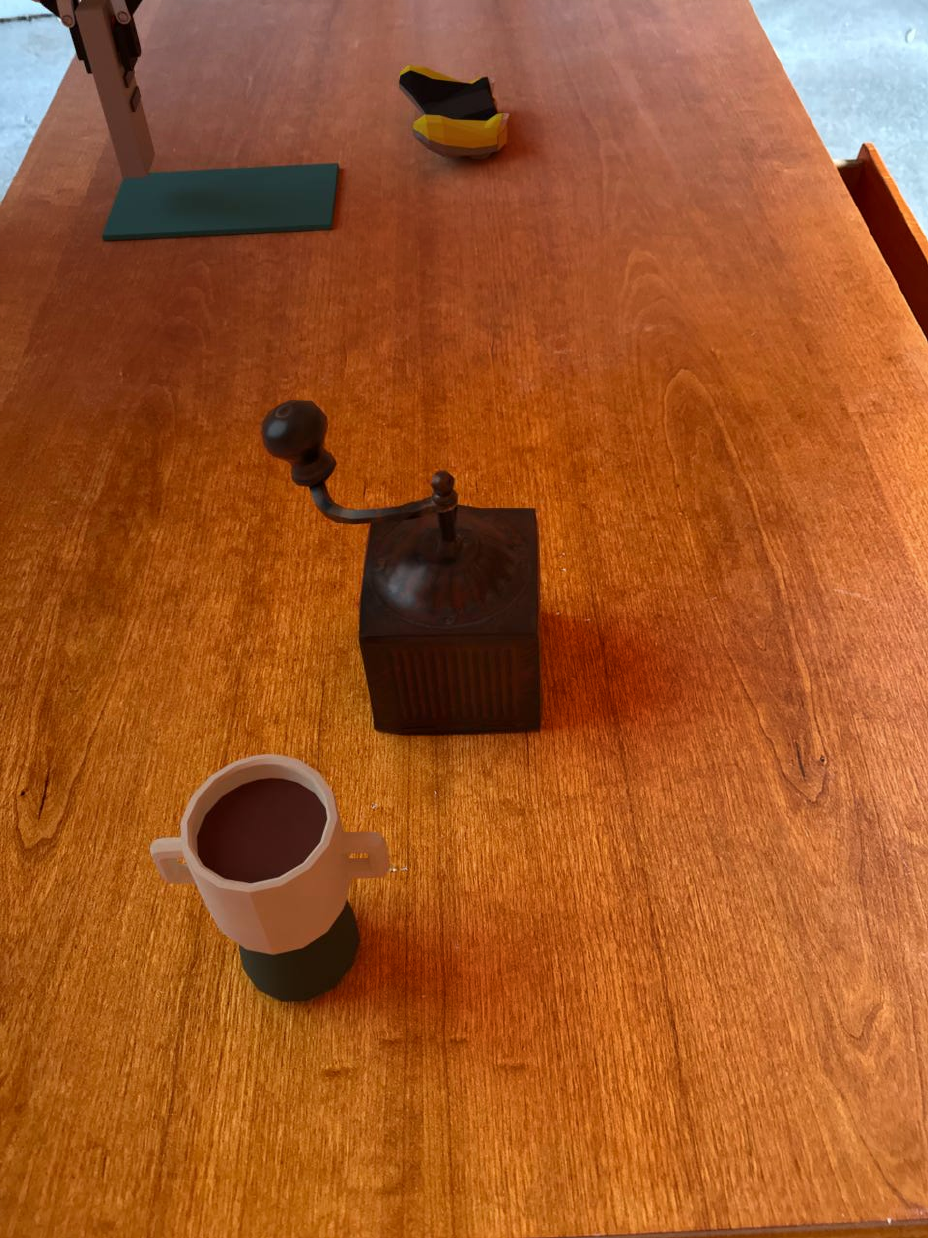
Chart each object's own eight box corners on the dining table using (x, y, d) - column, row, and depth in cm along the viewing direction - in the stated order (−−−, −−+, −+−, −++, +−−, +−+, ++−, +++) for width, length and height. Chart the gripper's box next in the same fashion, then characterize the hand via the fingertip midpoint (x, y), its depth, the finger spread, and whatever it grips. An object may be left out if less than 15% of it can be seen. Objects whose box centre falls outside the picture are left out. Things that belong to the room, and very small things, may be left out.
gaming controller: (418, 179, 114) (516, 166, 115) (414, 125, 110) (515, 112, 111) (399, 112, 124) (490, 101, 125) (395, 60, 120) (488, 49, 121)
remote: (122, 178, 108) (74, 11, 97) (131, 155, 112) (85, -10, 100) (150, 177, 108) (105, 9, 97) (158, 153, 111) (115, -11, 100)
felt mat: (103, 240, 109) (101, 235, 109) (125, 179, 117) (124, 173, 117) (331, 229, 109) (331, 223, 108) (339, 168, 117) (338, 162, 116)
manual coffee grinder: (540, 599, 76) (541, 378, 62) (544, 735, 69) (546, 518, 55) (308, 603, 77) (260, 385, 63) (288, 737, 69) (228, 524, 56)
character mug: (407, 885, 62) (384, 748, 53) (403, 1013, 58) (377, 888, 48) (209, 891, 63) (150, 756, 53) (190, 1018, 58) (121, 896, 48)
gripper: (-70, -154, 87) (14, 89, 101) (141, -168, 86) (196, 79, 100) (-43, -182, 92) (34, 53, 106) (157, -196, 91) (208, 43, 105)
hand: (112, 64), depth 103 cm, fingers closed on remote, 2 cm apart
